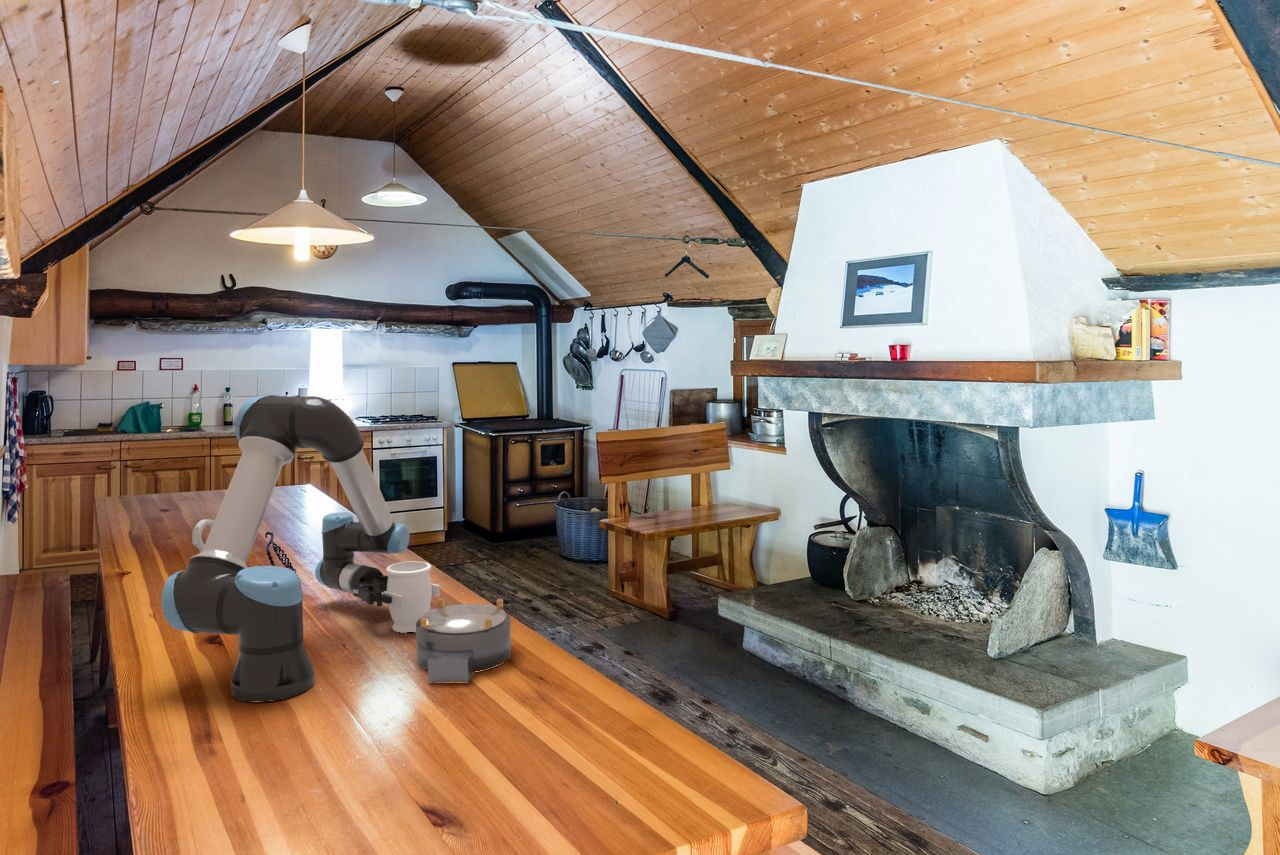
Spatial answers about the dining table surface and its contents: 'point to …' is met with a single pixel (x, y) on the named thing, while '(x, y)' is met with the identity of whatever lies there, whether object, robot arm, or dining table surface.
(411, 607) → the jar
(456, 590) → the dining table surface
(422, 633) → the cylinder
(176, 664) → the dining table surface
